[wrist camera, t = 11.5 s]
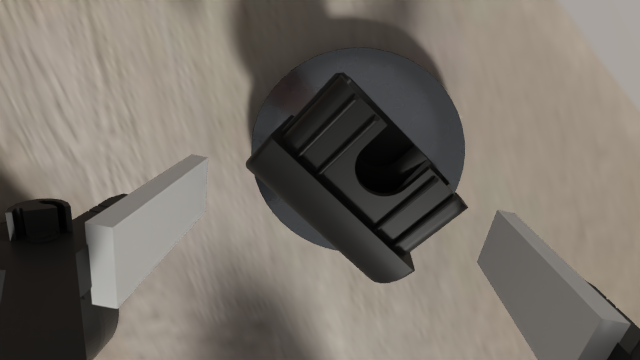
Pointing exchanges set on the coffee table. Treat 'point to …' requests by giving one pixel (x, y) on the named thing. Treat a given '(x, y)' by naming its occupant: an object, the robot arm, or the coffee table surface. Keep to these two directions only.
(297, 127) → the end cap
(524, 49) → the coffee table surface
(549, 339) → the robot arm
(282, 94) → the plate
